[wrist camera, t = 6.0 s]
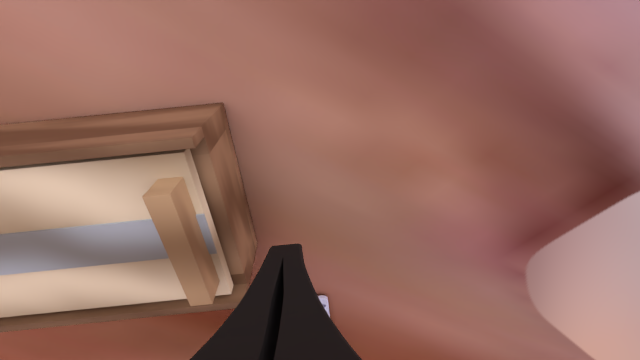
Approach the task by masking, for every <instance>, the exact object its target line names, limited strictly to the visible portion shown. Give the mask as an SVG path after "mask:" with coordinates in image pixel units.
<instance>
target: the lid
mask: <svg viewBox="0 0 640 360" xmlns="http://www.w3.org/2000/svg"><path fill="white" fill-rule="evenodd" d="M232 289H233V282H232V279H231V276H230V272H229V269H228V266H227V263H226V260H225V257H224V254H223V251H222V248H221V245H220V241H219V238H218V235H217V232H216V229H215V226H214V223H213V220H212V217H211V213H210V210H209V207H208V204H207V201H206V198H205V195H204V192H203V189H202V186H201V182H200V179H199V176H198V173H197V170H196V167H195V164H194V161H193V158H192V155H191V151H190V149H182V150H172V151H162V152H151V153H141V154H131V155H121V156H111V157H101V158H91V159H81V160H71V161H61V162H51V163H41V164H31V165H21V166H11V167H1V168H0V318H2V317H12V316H22V315H32V314H42V313H52V312H61V311H71V310H81V309H91V308H101V307H111V306H120V305H130V304H140V303H150V302H160V301H170V300H179V299H188V302H189V304H190V306H198V305H207V304H213V301H214V298H215V296H219V295H229V294H231V293H232Z"/></svg>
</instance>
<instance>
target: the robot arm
mask: <svg viewBox="0 0 640 360" xmlns="http://www.w3.org/2000/svg"><path fill="white" fill-rule="evenodd" d="M190 360H362V359H361V358H360V357H359V356H358V355H357V353H356V352H355V351H354V350H353V349H352V347H351V346H350V345H349V344H348V342H347V341H346V340H345V338H344V337H343V336H342V335H341V333H340V332H339V330H338V329H337V327H336V326H335V324H334V323H333V322H332V320H331V319H330V313H329V304H328V298H327V296H324V295H320V296H317V294H316V292H315V290H314V288H313V285H312V283H311V281H310V278H309V276H308V273H307V270H306V268H305V264H304V259H303V252H302V246H301V245H300V244H290V245H280V246H272V247H271V248H270V249H269V252H268V254H267V256H266V258H265V260H264V262H263V264H262V266H261V268H260V270H259V272H258V274H257V275H256V277H255V279H254V281H253V282H252V284H251V286H250V287H249V289H248V290H247V292H246V294H245V295H244V297H243V298H242V300H241V301H240V303H239V304H238V305H237V307H236V308H235V310H234V311H233V312H232V313H231V315H230V316H229V317H228V319H227V320H226V321H225V322H224V323H223V325H222V326H221V327H220V328H219V329H218V331H217V332H216V333H215V334H214V335H213V336H212V337H211V338H210V340H209V341H208V342H207V343H206V344H205V345H204V346H203V347H202V348H201V349H200V350H199V351H198V352H197V353H196V354H195V355H194V356H193V357H192V358H191V359H190Z"/></svg>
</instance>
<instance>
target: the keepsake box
mask: <svg viewBox="0 0 640 360" xmlns="http://www.w3.org/2000/svg"><path fill="white" fill-rule="evenodd" d="M182 149H190V151H191V155H192V158H193V161H194V164H195V167H196V170H197V173H198V176H199V179H200V182H201V186H202V189H203V192H204V195H205V198H206V201H207V204H208V207H209V210H210V213H211V217H212V220H213V223H214V226H215V229H216V232H217V235H218V238H219V241H220V245H221V248H222V251H223V254H224V257H225V260H226V263H227V266H228V269H229V272H230V276H231V279H232V282H233V289H232V293H231V294H229V295H219V296H215V298H214V301H213V304H207V305H198V306H190V304H189V302H188V299H179V300H170V301H160V302H150V303H140V304H130V305H120V306H111V307H101V308H91V309H81V310H71V311H61V312H52V313H42V314H32V315H22V316H12V317H2V318H0V332H8V331H18V330H28V329H38V328H48V327H57V326H67V325H77V324H87V323H97V322H107V321H116V320H126V319H136V318H146V317H156V316H165V315H175V314H185V313H195V312H205V311H214V310H224V309H234V308H236V307H237V305H238V304H239V303H240V301H241V300H242V298H243V297H244V295H245V294H246V292H247V290H248V289H249V284H250V279H251V274H252V269H253V264H254V258H255V253H256V248H257V240H256V236H255V232H254V228H253V223H252V219H251V215H250V211H249V207H248V203H247V199H246V195H245V191H244V186H243V182H242V178H241V174H240V170H239V166H238V162H237V158H236V154H235V150H234V145H233V141H232V137H231V133H230V129H229V125H228V121H227V117H226V113H225V108H224V104H223V103H216V104H206V105H196V106H185V107H175V108H165V109H155V110H145V111H135V112H125V113H115V114H105V115H94V116H84V117H74V118H64V119H54V120H44V121H34V122H24V123H14V124H4V125H0V168H1V167H11V166H21V165H31V164H41V163H51V162H61V161H71V160H81V159H91V158H101V157H111V156H121V155H131V154H141V153H151V152H162V151H172V150H182Z"/></svg>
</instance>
